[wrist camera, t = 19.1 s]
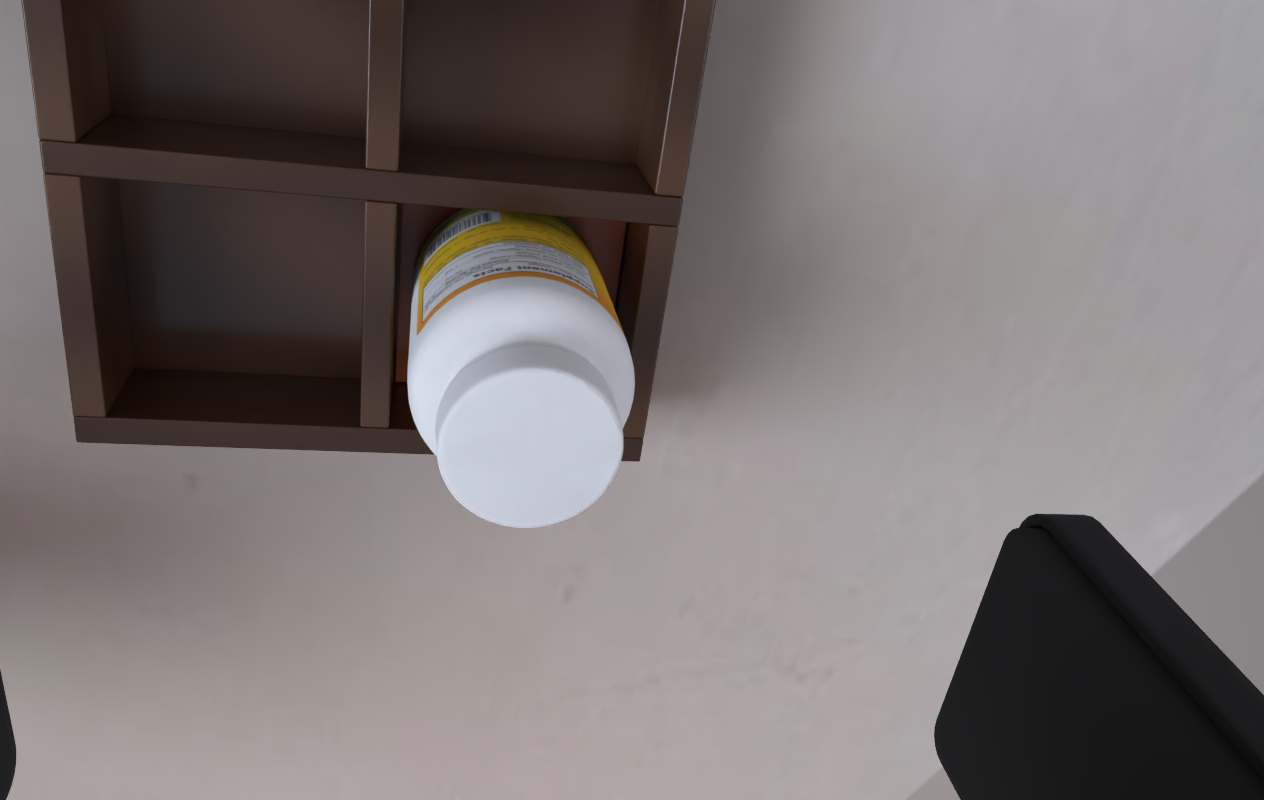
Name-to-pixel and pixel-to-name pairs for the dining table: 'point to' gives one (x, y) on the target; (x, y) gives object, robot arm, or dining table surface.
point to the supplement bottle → (517, 366)
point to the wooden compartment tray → (335, 192)
